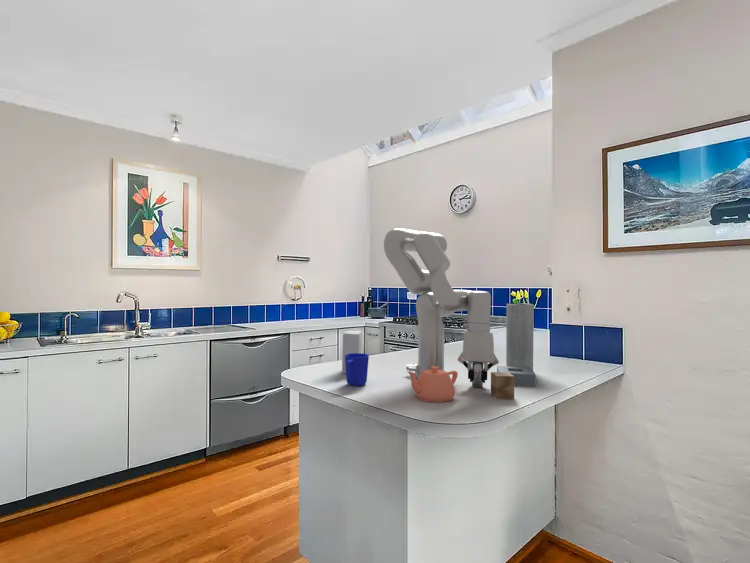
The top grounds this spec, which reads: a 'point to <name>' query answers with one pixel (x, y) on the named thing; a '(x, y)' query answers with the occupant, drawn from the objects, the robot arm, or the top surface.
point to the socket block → (520, 375)
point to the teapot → (434, 385)
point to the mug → (356, 368)
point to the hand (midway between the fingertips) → (477, 381)
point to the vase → (519, 335)
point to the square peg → (502, 385)
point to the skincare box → (350, 345)
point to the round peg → (477, 374)
